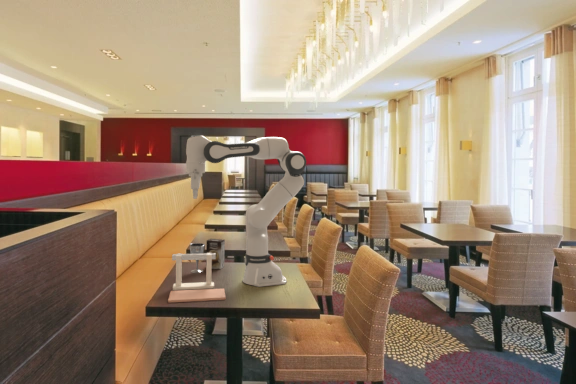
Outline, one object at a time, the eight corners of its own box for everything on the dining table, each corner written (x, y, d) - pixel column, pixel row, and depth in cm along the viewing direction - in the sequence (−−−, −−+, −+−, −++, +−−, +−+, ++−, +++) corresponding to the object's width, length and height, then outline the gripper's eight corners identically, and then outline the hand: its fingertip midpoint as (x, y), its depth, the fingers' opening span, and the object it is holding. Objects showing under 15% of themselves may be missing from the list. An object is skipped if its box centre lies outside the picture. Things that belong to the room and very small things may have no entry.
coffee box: (205, 268, 208) (205, 240, 207) (209, 265, 214) (210, 238, 213) (220, 269, 206) (221, 241, 205) (224, 266, 213) (225, 239, 212)
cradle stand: (213, 284, 180) (214, 252, 179) (214, 288, 174) (214, 255, 173) (173, 286, 176) (173, 253, 175) (172, 290, 170) (172, 256, 169)
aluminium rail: (215, 258, 177) (215, 253, 177) (215, 259, 175) (215, 254, 175) (172, 259, 173) (172, 254, 173) (172, 260, 170) (172, 255, 170)
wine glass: (206, 270, 204) (207, 243, 203) (200, 273, 196) (200, 246, 196) (194, 268, 206) (194, 242, 205) (187, 272, 198) (187, 245, 197)
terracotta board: (224, 290, 171) (224, 288, 171) (225, 299, 159) (225, 297, 159) (170, 293, 166) (170, 290, 166) (168, 302, 154) (168, 300, 154)
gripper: (202, 169, 166) (201, 199, 166) (202, 169, 185) (202, 196, 186) (187, 169, 164) (187, 199, 165) (189, 168, 184) (189, 196, 185)
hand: (195, 197), depth 176 cm, fingers open, 8 cm apart
